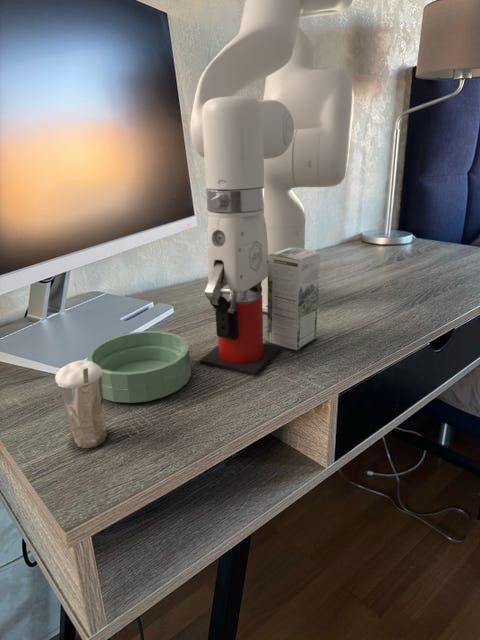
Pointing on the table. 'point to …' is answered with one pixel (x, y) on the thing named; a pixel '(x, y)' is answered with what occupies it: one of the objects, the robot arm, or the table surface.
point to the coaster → (249, 368)
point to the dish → (142, 365)
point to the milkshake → (83, 401)
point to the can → (245, 330)
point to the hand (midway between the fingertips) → (239, 327)
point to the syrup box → (292, 297)
